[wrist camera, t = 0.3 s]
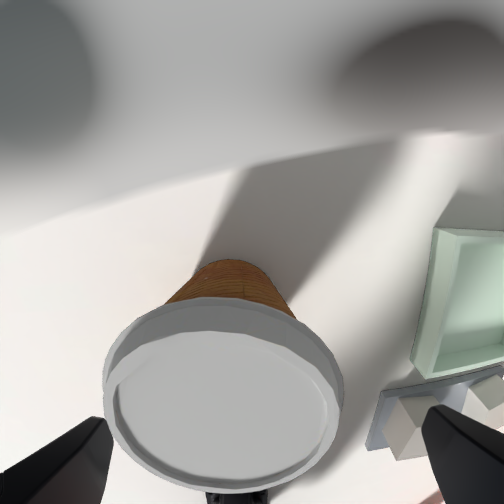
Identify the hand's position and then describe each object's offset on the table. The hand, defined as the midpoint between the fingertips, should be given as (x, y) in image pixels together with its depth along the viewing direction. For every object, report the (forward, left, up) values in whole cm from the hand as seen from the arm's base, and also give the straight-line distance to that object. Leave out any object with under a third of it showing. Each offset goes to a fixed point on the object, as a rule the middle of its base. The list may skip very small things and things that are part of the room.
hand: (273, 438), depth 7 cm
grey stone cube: (-13, -14, -13) cm, 23 cm away
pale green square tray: (-2, -18, -14) cm, 23 cm away
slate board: (-14, -18, -14) cm, 27 cm away
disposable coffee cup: (-2, +2, -15) cm, 15 cm away
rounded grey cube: (-13, -23, -13) cm, 30 cm away
